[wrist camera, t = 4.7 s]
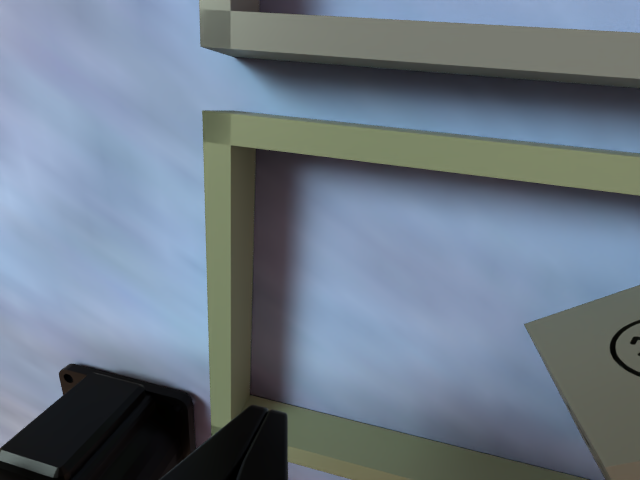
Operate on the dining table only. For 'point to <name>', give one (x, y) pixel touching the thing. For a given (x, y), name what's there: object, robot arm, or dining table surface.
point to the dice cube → (598, 375)
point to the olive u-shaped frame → (423, 45)
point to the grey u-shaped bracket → (237, 272)
